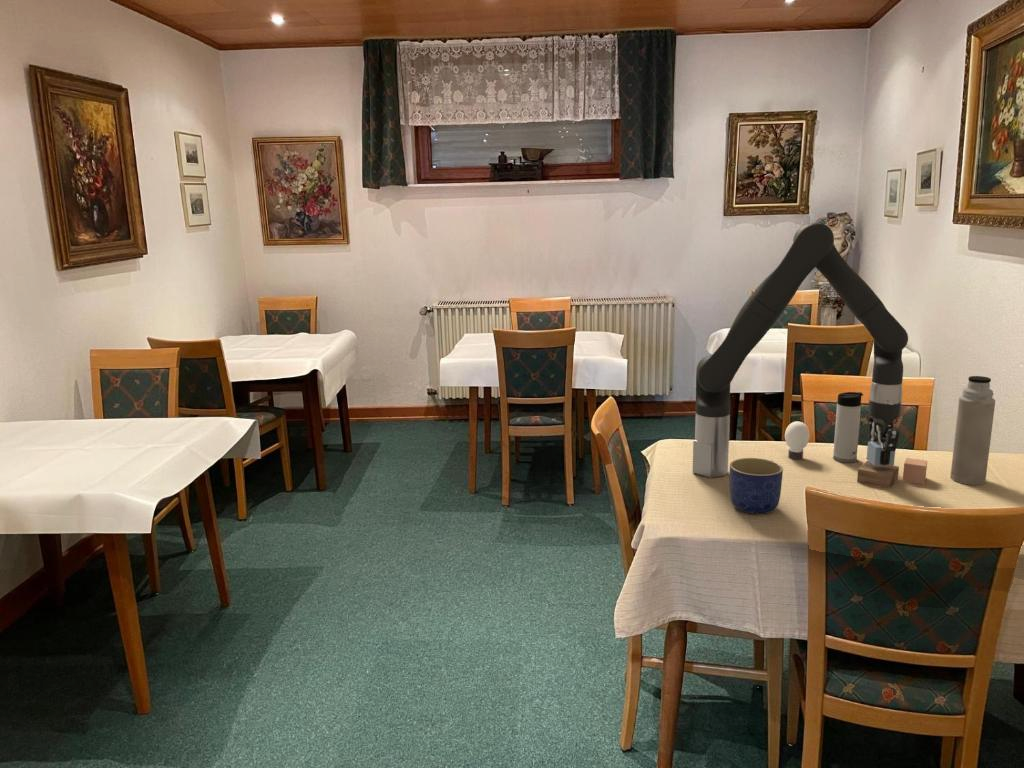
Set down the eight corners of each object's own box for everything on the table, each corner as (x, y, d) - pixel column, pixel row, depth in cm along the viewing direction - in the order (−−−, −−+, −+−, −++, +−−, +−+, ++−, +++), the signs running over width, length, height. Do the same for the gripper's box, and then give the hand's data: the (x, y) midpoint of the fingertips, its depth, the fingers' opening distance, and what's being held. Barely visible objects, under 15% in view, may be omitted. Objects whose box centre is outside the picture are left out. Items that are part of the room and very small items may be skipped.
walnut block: (889, 489, 192) (890, 475, 191) (856, 483, 197) (858, 468, 196) (897, 480, 198) (899, 466, 197) (866, 474, 203) (867, 460, 202)
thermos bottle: (948, 472, 201) (959, 373, 194) (983, 476, 198) (995, 374, 191) (952, 482, 194) (963, 379, 187) (987, 486, 191) (1000, 381, 184)
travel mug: (860, 463, 210) (865, 395, 206) (835, 462, 212) (840, 395, 207) (854, 456, 216) (860, 390, 212) (831, 455, 218) (835, 389, 213)
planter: (731, 495, 191) (732, 455, 188) (782, 501, 186) (784, 460, 184) (725, 514, 180) (726, 472, 177) (779, 520, 175) (781, 477, 172)
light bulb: (783, 460, 215) (785, 424, 213) (784, 452, 221) (786, 417, 219) (807, 462, 213) (810, 425, 210) (808, 454, 219) (810, 419, 216)
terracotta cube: (923, 484, 194) (925, 466, 193) (902, 480, 197) (904, 463, 196) (925, 478, 198) (927, 460, 197) (904, 475, 201) (906, 457, 200)
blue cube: (893, 465, 193) (895, 447, 192) (874, 465, 193) (875, 447, 192) (885, 459, 198) (887, 441, 197) (866, 459, 198) (868, 441, 197)
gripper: (859, 392, 199) (854, 452, 203) (882, 406, 185) (876, 470, 189) (888, 391, 198) (883, 451, 202) (913, 406, 184) (906, 470, 188)
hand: (880, 460), depth 195 cm, fingers closed on blue cube, 5 cm apart
